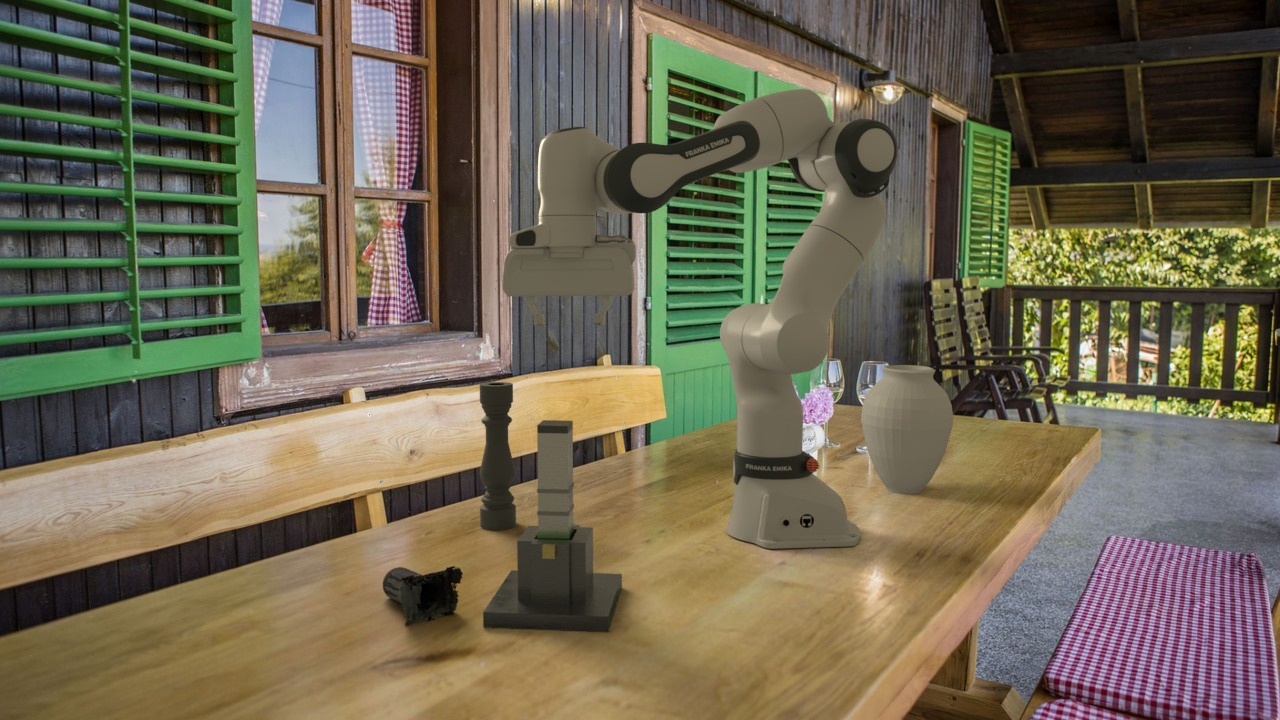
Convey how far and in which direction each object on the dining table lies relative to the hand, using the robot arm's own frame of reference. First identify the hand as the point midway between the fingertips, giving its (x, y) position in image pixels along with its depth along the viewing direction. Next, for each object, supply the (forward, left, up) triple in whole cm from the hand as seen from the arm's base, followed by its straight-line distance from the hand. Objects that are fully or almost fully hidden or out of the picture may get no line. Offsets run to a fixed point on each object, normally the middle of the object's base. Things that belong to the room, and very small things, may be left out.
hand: (569, 325), depth 145 cm
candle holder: (+15, -14, -37) cm, 42 cm away
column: (-2, +23, -28) cm, 36 cm away
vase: (-61, -47, -37) cm, 85 cm away
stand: (-2, +23, -36) cm, 43 cm away
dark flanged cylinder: (+17, +25, -37) cm, 48 cm away
